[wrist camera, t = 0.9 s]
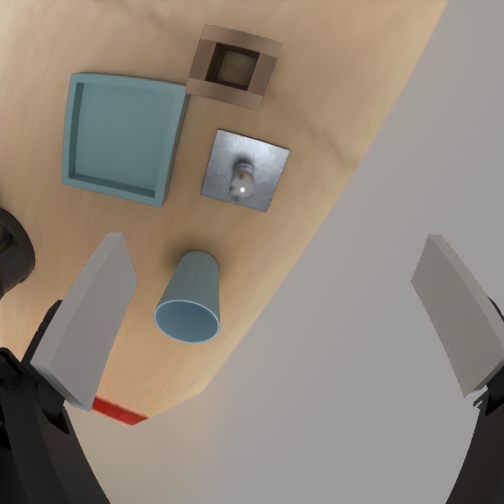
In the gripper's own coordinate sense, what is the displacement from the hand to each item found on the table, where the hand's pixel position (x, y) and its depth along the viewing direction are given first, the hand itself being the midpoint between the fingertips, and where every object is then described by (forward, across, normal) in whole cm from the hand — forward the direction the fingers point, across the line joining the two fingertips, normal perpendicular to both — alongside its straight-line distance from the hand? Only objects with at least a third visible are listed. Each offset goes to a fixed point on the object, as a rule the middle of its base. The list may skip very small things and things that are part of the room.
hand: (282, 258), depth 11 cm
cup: (+22, -9, -18) cm, 29 cm away
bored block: (+22, -3, +8) cm, 23 cm away
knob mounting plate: (+21, -2, -4) cm, 22 cm away
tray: (+21, -16, +2) cm, 27 cm away
